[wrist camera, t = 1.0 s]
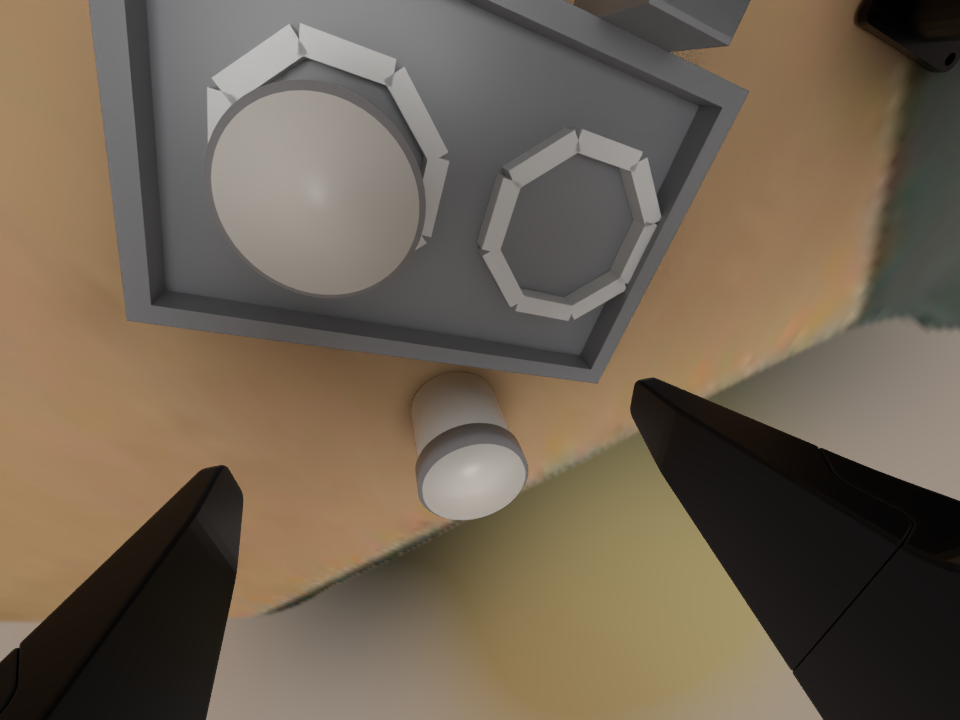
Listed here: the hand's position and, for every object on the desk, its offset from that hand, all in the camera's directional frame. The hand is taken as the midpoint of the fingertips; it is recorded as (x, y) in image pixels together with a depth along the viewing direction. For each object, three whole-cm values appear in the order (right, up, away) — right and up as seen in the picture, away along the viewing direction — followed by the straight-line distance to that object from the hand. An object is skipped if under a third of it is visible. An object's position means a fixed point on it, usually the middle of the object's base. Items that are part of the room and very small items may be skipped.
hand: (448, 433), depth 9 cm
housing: (0, +11, +8) cm, 13 cm away
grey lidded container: (-1, -1, +16) cm, 16 cm away
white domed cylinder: (-5, +9, +6) cm, 12 cm away
